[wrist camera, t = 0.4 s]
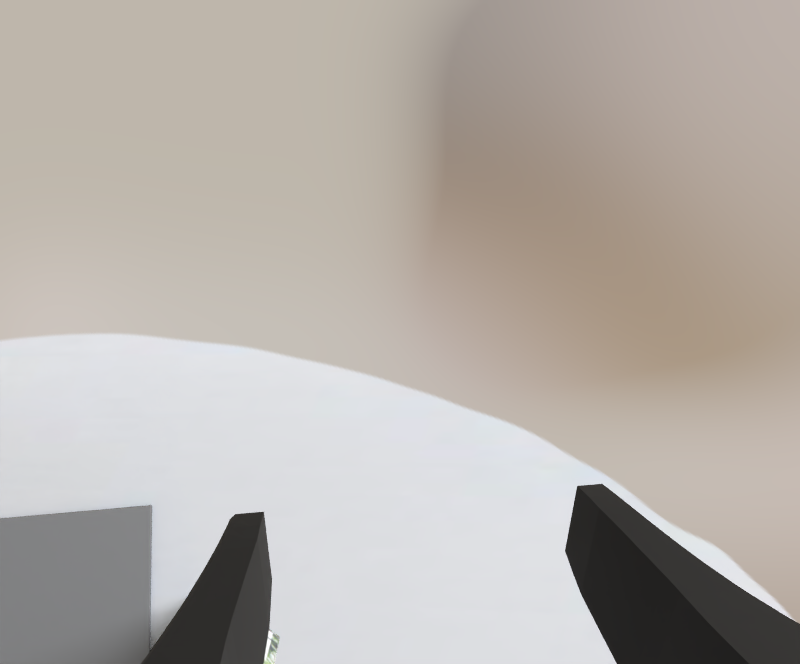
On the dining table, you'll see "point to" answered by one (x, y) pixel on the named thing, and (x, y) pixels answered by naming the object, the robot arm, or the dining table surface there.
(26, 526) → the mat
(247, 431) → the dining table surface
